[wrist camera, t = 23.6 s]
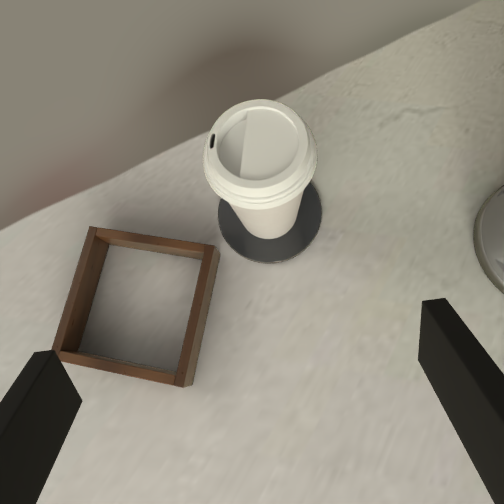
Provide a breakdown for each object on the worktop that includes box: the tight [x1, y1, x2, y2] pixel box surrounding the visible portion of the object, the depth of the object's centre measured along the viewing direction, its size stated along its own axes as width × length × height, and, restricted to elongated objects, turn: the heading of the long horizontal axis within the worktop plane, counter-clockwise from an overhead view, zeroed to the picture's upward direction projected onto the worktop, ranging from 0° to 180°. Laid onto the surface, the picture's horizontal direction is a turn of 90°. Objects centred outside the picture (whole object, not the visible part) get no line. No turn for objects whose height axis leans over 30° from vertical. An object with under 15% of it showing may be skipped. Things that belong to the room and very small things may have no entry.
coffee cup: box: [203, 99, 317, 239], centre depth 37 cm, size 10×10×15 cm
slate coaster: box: [218, 182, 322, 263], centre depth 45 cm, size 12×12×1 cm
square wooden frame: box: [51, 226, 220, 388], centre depth 42 cm, size 15×15×4 cm
